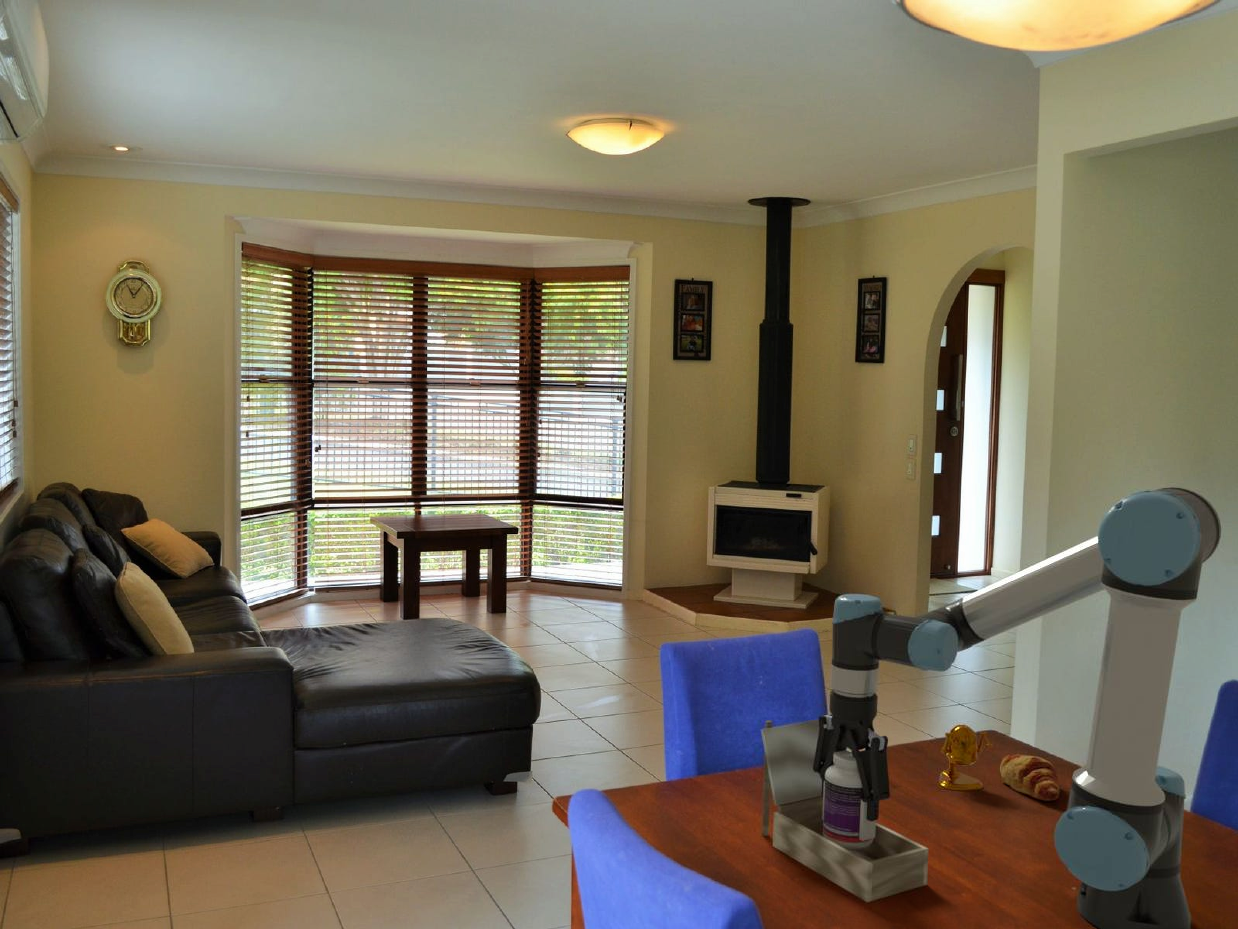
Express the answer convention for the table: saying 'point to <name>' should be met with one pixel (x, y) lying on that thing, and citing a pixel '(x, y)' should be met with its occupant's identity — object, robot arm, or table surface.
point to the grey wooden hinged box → (801, 825)
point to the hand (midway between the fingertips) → (848, 828)
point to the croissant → (1030, 776)
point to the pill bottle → (843, 802)
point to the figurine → (961, 758)
